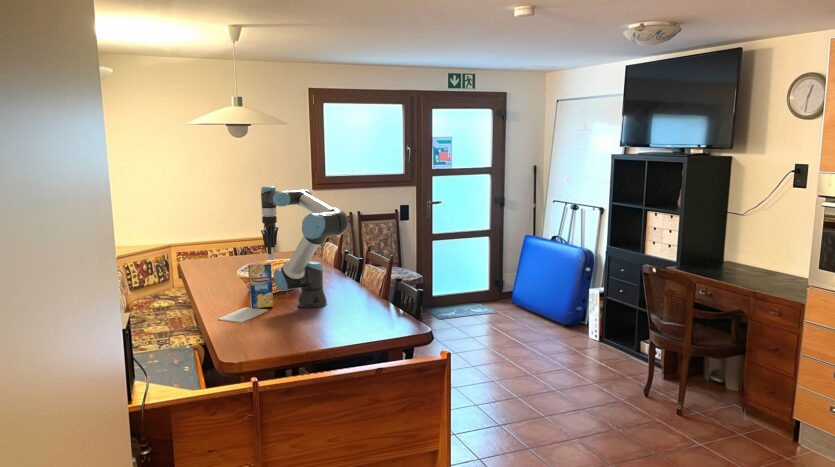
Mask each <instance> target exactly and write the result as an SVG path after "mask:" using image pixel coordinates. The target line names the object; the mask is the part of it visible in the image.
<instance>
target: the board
mask: <svg viewBox="0 0 835 467" xmlns="http://www.w3.org/2000/svg"><path fill="white" fill-rule="evenodd" d="M269 311H270V310H269V309H266V308H251V307H248V306H247V307H243V308H240V309H238V310H236V311H233V312H230V313H229V314H225V315H224V316H221V317H219V318H217V321H225V322H234V323H238V324H239V323H246V322H247V321H250V320H252V319H254V318H256V317H258V316H260V315H262V313H263V314H265V313H267V312H269Z"/></svg>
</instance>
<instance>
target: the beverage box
mask: <svg viewBox="0 0 835 467" xmlns="http://www.w3.org/2000/svg"><path fill="white" fill-rule="evenodd" d="M247 267H248V268H247V270H248V284H249V286H248V287H249V299H250V300H249V302H250V304H249V305H250V308H257V309H262V308H268V307H269V308H270V307H274V293H273V277H272V264H271V263H260V264H248V265H247Z"/></svg>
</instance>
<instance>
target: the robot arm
mask: <svg viewBox="0 0 835 467" xmlns="http://www.w3.org/2000/svg"><path fill="white" fill-rule="evenodd" d="M260 199H261V215H262V216H261V222H262V223H263V229H261V230H260V232H261V234H262V240H263V245H264V248H266V249H267V260H268V261H274V260H275V255H274V254H275V251H274V250H275V249H274V248H276V246H277V240H278V231H279V226H278V227H277V226H276V225H277V223H278V222H277V221H278V220H277V219H278V218H277V214H278V212H277V207H287V206H294V205H298V206H300V207H302V208H304V209H305V210H307V211H308V212H310V213H309V214H307V215H305V217H304V218H303V219H302V222H301V225H302V226H301V232H302V238H301V239H300V241H299V243H298V245H297V246H296V249H295V250H294V252H293V254H292V256H291V257H290V258H289V260H287V261H285V262H284V263H283V264H282V267H280V268H276V269H274V271H273V280H274V284H275V287H276V288H277V289H278V290H279V291H281V292H284V291H290V290H295V289H300V293H299V296H298V299H297V305H298V307H300V308H305V309H306V308H307V309H308V308H310V309H312V308H314V309H315V308H321V307H324V306H326V305H327V303H328V302H327V301H328V300H327V298H326V297H327V296H326V294H325V291H324V274H323V273H324V269H323V264H322V263H321V262H319V261H318V262H317V261H312V260H311V259H312V257H313V256H314V254H315V253H316V251H317V249H318V248H319V246H320V245H323V244H325V242H326V240H328V239H327V238H329V237H334V236H340V235H342V234H344V233H345V232H346V231H347V230H348V227H349V224H350V220H349V216H348V215H347V213H346V212H344V211H343V210H342V209H340V208H338V207H332V206H330V205H328V204H327V203H325V202H323V201H321V200H320V199H318V198H316V197H314V196H313V194H312V192H311V191H310V190H309V189H293V190H276V187H275V186H270V185H269V186H261V188H260Z"/></svg>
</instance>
